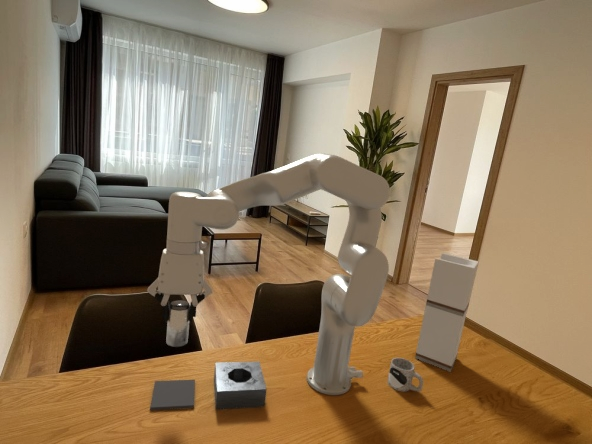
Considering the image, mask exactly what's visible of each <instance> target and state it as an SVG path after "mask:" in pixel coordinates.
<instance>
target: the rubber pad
mask: <svg viewBox="0 0 592 444" xmlns="http://www.w3.org/2000/svg"><path fill="white" fill-rule="evenodd" d="M152 389H153V390H152V397H151V402H150V405H149V411H164V410H181V409H184V410H185V409H195V401H196V400H195V397H196V396H195V395H196V394H195V393H196V391H195V390H196V379H178V380H177V379H176V380H175V379H173V380H170V379H169V380H155V381H154V385H153V388H152Z"/></svg>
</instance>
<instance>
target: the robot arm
mask: <svg viewBox="0 0 592 444" xmlns="http://www.w3.org/2000/svg"><path fill="white" fill-rule="evenodd" d="M319 190H321V191H324V192H327V193H328V194H331V195H333V196H335V197H337V198H340V199H342V200H344V201H345V202H346V205H347V206H348V213H349V215H348V222H347V227H346V229H345V233H344V234H343V238H342V241H341V243H340V246H339V247H340V248H339V250H338V252H337V253H338V254H337V262H338V264H339V266H340V268H342V269H343V271H345V273H347V274H348V275H346V274H344V273H335V274H332V275H330V276H329V277H328V278H327V279H326V280H325V281H324V284H323V285H322V290H321V315H320V323H319V330H318V334H317V335H318V337H317V342H316V343H317V344H316V350H315V356H314V362H313V367H311V368H310V369H309V370H308V371H307V374H306V381H307V383H308V385H309V386H310V387H311V388H313V389H314V390H315V391H316V392H319V393H321V394H325V395H328V396H339V395H344V394H345V393H348V391H350V389H351V386H352V379H353V378H363V377H364V372H363V370H361V369H360V370H356V367H355V366H349V363H350V357H351V351H352V346H353V341H354V340H353V339H354V335H355V329H356V328H357V327H362V326H364V325H366V324H367V323H369V322H370V321H371V320H372V318H373V316H374V315H375V313H376V310H377V309H378V305H379V303H380V300H381V298H382V294H383V291H384V288H385V285H386V283H387V281H388V280H387V279H388V276H389V272H390V271H389V270H390V269H389V268H390V266H389V265H390V264H389V260H388V258H387V256H386V254H385V253H384V252H383V251H382V250H381V249H379V248H377V247H376V246H377V241H378V239H379V234H380V231H381V227H382V222H383V221H382V218H383V217H382V209H381V208H382V207H383V206H385V205H386V204H387V203H388V200H389V198H390V195H391V188H390V185H389V182H388V181H387V180H386V178H384V177H383V176H382V175H380V174H378V173H375V172H373V171H371V170H369V169H367V168H364V167H362V166H360V165H357V164H356V163H354V162H352V161H349V160H347V159H345V158H343V157H341V156H338V155H335V154H330V153H322V152H321V153H316V154H311V155H310V156H309V155H308V156H305V157H303V158H301V159H299V160H296V161H293V162H291V163H289V164H287V165H283V166H280V167H278V168H276V169H275V168H274V169H273V170H271V171H270V170H269V171H267V172H262V173H260V174H257V175H253V176H251V177H248V178H244V179H240V180H237V181H235V182H232V183H230V184H226V185H224V186H222V187H219V188H216V189H214V190H212V191H210V192H209V193H208V194H207V195H205V196H204V197H203V196H202V195H201V194H200V193H196V192H193V191H192V192H191V191H190V192H189V191H175V192H172V194H170V196H169V200H168V201H169V202H168V217H167V229H166V231H167V235H166V248H164V249H163V250H162V254H161V257H160V263H159V271H158V277H156V279H155V280H154V281H153V282H152V283H151V284H150V285H149V286H148V288H147V290H146V291H147V293H149V294H150V295H151V296H153V297H154V298H155V300H157V301H158V302H159V303H160V305H161V306H162V308H161V317H162V318H164V319H163V320H164V321H163V322H164V323H167V322H168V310H169V305H170V301H169V298H170V296H171V295H174V296H175V295H180V296H181V295H185V296H187V295H189V296H190V299H191V301H190V302H189V305H190V317H189V323H193V319H194V318H196V317H197V316H196V315H197V306H198V305H199V304H200V303H201V302H203V301H204V300H205V298H207V297H209V296H210V295H212V294H213V288H212V287H211V286H210V284H209V282H207V280H206V279H205V254H204V251H203V249H207V248H208V242H205V241H203V240H202V231H203V227H204V228H209V229H214V230H219V231H221V230H229V229H231V228H233V227H234V226H235V225H236V224H237V223H238V220H239V218H240V212H242V211H244V210H247V209H251V208H255V207H260V206H270V207H271V206H272V207H274V206H283V205H286V204H288V203H290V202H293V201H294V200H298V199H300V198H303V197H305V196H308V195H310V194H313V193H314V192H317V191H319Z"/></svg>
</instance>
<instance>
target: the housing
mask: <svg viewBox="0 0 592 444" xmlns="http://www.w3.org/2000/svg"><path fill="white" fill-rule="evenodd" d="M213 374H214V375H213V386H214V388H213V389H214V406H215V409H214V410H217V411H218V410H234V409H235V410H236V409H248V408H249V409H251V408H252V409H253V408H255V409H256V408H265V406H266V398H267V397H266V396H267V389H268V388H267V385H266V382H265V377H264V374H263V370H262V366H261V363H260V361H232V362H231V361H229V362H226V361H225V362H223V361H221V362H215V363H214V373H213Z"/></svg>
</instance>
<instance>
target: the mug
mask: <svg viewBox="0 0 592 444" xmlns="http://www.w3.org/2000/svg"><path fill="white" fill-rule="evenodd" d="M389 367H390V368H389V371H388V377H387V385H388V386H389V387H390V388H392V389H393V390H395V391H396V392H397V391H398V392H403V393H405V392H406V393H407V392H409V391H415V392H419V393H420V392H421V391H422V390H423V386H424V378H423V377H422V376H421V375H420V374H419V373H418V372H417V371H415V368H416V366H415V364H414V363H413V362H412V361H410V360H409V359H406V358H403V357H394V358H392V359H391V362H390V366H389ZM413 378H416V379H417V380H418V381H419V385H418V386H415V385H414V384H413Z"/></svg>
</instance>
